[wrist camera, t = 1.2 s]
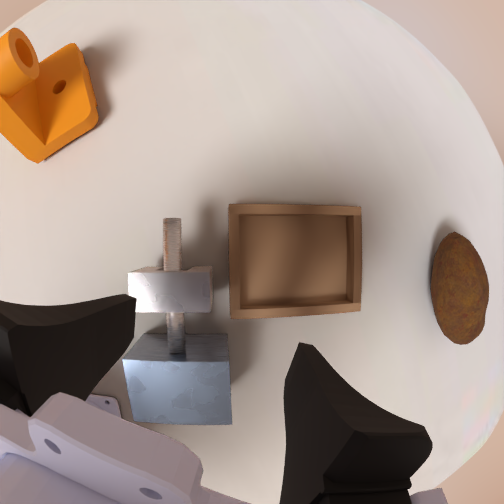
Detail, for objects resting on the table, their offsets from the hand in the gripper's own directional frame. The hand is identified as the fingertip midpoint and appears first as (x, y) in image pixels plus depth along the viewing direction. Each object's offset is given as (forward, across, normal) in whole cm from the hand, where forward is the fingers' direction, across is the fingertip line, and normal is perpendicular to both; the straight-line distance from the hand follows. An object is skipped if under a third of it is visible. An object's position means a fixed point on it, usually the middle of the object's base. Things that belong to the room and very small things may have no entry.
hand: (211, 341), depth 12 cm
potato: (+15, -20, -2) cm, 25 cm away
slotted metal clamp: (+10, +4, +2) cm, 11 cm away
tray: (+13, -4, -2) cm, 13 cm away
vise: (+10, +4, +5) cm, 12 cm away
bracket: (+12, +21, -11) cm, 27 cm away
